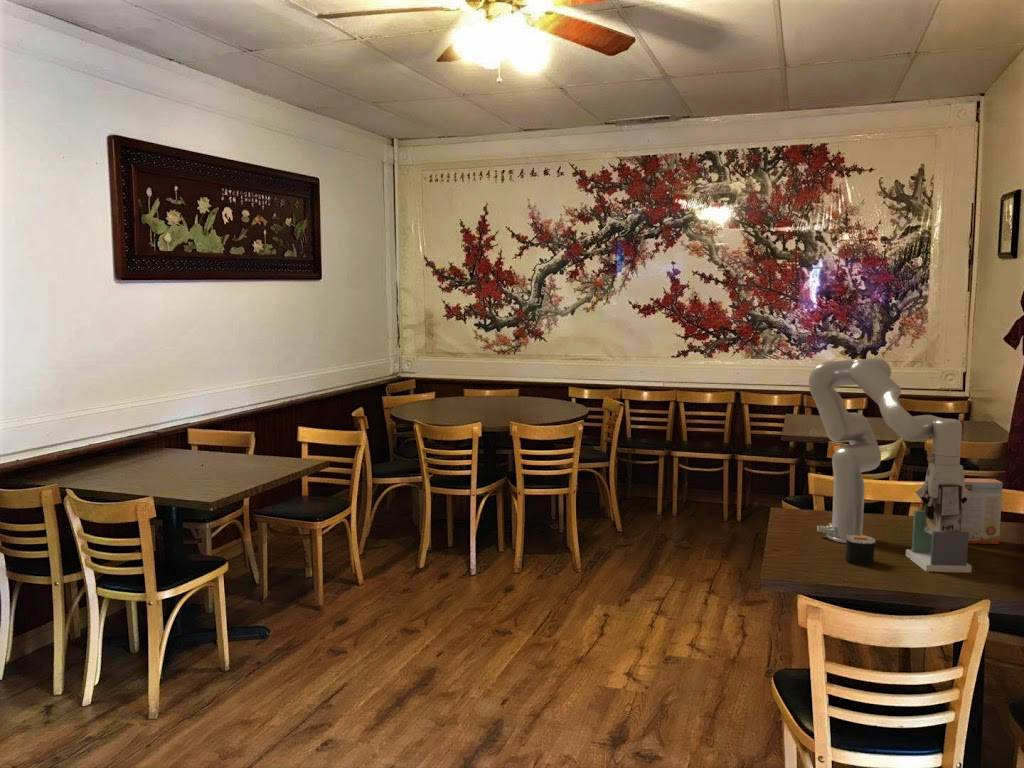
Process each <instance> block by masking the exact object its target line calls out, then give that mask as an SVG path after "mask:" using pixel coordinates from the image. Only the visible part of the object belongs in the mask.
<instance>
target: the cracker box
mask: <svg viewBox="0 0 1024 768" xmlns="http://www.w3.org/2000/svg"><path fill="white" fill-rule="evenodd" d="M964 481H965V488H966V489H968V490H969V491H970V492H971V493H972V496H971V497H970V498H969V499H967V501H966V502H965V503H964V504H963V506H962V515H961V530H960V532H968V533H969V537H968V544H977V543H979V545H980V544H982V545H984V544H985V545H999V544H1000V532H1001V518H1002V517H1001V516H1002V515H1001V514H1002V499H1003V498H1002V497H1003V496H1002V495H1003V482H1002V481H1000V480H997V479H996V478H969V477H968V478H965V477H964Z"/></svg>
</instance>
